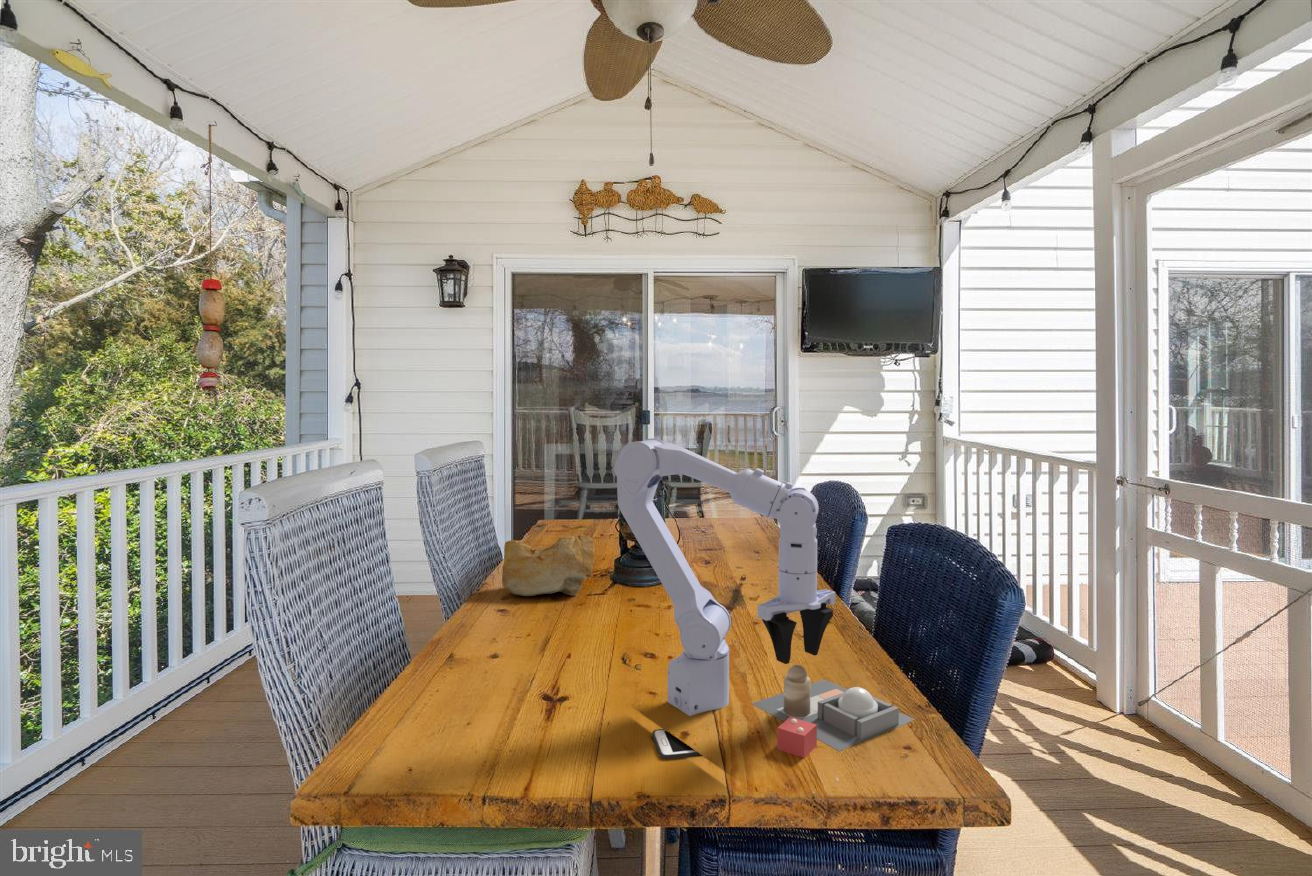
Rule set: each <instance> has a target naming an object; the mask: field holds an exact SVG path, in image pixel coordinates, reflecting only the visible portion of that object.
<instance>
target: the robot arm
mask: <svg viewBox="0 0 1312 876" xmlns="http://www.w3.org/2000/svg"><path fill="white" fill-rule="evenodd" d="M613 470H614V473H615V475H616V484H617V485H616V491H617V506H618V508H619V511H620V513H621V514H622V516H623V517H624V520H625V521H626V523H627V525H628V527H629V528H630V530H631V532H632V534H633V535H634V538H635V539H636V541H637V543H638V544H639V545H640V548H641V549H642V551H643V553H644V554H645V556H646V559H647V560H648V562H649V563H650V566H651V567H652V569H653V571H654V573H656V576H657V578H658V580H659V581H660V582H661V584H662V587H663V588H664V589H665V592H666V593H667V595H668V597H669V599H670V600H671V603H672V604H673V617H674V621H675V623H676V625H677V627H678V631H679V639H680V643H681V646H682V647H683V651H682V652H681V654H679V656H677V657H675V658H673V659H671V660H670V662H669V663H668V666H667V703H668V704H669V705H672V706H673V707H675V708H676V709H678V710H679V711H681V712H683V714H686V715H687V716H690V717H691V716H695V715H697V714H701V713H704V712H705V713H706V712H708V711H715V710H719V709H720V710H721V709H723V708H725V707H727V706H728V704H729V703H730V647H729V646H728V644H727V641H726V638H725V637H726V635H728V633H729V631H730V630H731V626H732V619H731V614H730V613H729V611H728V610H727V609H726V607H725V606H724V605H722V604H720V602H718V601H717V600H716V599H715V597H714V595H712V593H711V592H710V591H709V590H708V589H706V588H705V587H703V586H702V585H701V583H700V581H699V580H698V578H697V576H696V574H695V573H694V571H693V569H692V568H691V566H690V565H689V562H688V560H687V558H686V557H685V555H684V554H683V552H682V550H681V549H680V547H679V545H678V543H677V542H676V539H675V538H674V536H673V534H672V533H671V531H670V529H669V528H668V526H667V524H666V523H665V521H664V519H663V517H662V515H661V514H660V512H659V511H658V509H657V507H656V506H655V503H654V497H655V495H656V491H657V488H658V485H659V483H660V482H661V479H663V477H667V476H672V475H684V476H687V477H690V478H692V479H694V480H698V481H700V482H703V483H705V484H708V485H711V486H713V487H715V488H719V489H720V490H723V491H727V492H728V493H729V495H730V497H731V500H732V502H733V504H735V505H737V506H741V507H742V508H745V509H747V510H750V511H752V512H754V513H756V514H759V515H761V516H764V517H765V518H768V519H770V520H773V519H776V520H777V522H778V523H777V524H779V534H780V535H779V538H778V595H777V596H775V597H773V598H771V599H769V600H767V601H765V602H763V603H760V604H757V618H758V619H761V622H762V623H763V624H764V626H765V628H766V631H767V632H768V634H769V637H770V639H771V642H772V646H773V649H774V653H775V658H776V661H778V662H779V663H782V664H784V665H788V664H790V661H791V655H792V641H793V635H794V633H795V632H794V631H795V630H796V629H795V628H796V626H797V624H798V623H797V621H795V620H792V619H789V618H790V617H789V616H787V615H788V614H792V613H797V612H799V614H800V618H801V624H802V633H803V635H802V636H803V648H804V652H805V653H807V654H809V655H812V656H817V655H818V654H819V650H820V647H821V646H820V645H821V643H822V639H823V636H824V633H825V631H826V629H827V626H828V624H829V622H830V621H831V620H832V619H833V616H834V609H832V608H830V607H827V605H829V606H833V605H836V591H833V590H829V589H827V588H826V589H820V590H818V539H817V534H818V529H817V523H816V521H817V517H818V514H819V510H820V509H819V507H820V506H819V503H818V500H817V498H816V496H815V495H814V494H813V493H812V492H811V491H809V490H807V489H806V488H805V487H793V486H794V484H793V483H791V482H788V481H787V482H786V483H783V482H781V481H778V480H776V479H774V478H771V477H769V476H767V475H765V474H764V473H765V471H764V470H763V469H761V468H757V467H756V468H754V470H752V469H750V468H746V469H744V470H741V471H739V472H737V471H734V470H732V469H729V468H728V467H725V466H723V465H721V464H719V463H717V462H715V461H712V460H711V459H709V458H707V457H705V456H702V455H701V454H698V453H695V452H693V451H691V450H689V449H687V448H685V447H682V446H679V445H678V444H675V443H671V442H665V441H663V440H662V439H659V438H654V437H653V438H651V437H650V438H647V439H645V440H641V441H631V442H629V443H626V445H624V446H623V447H622V448H621V450H620V452H619V453H618V456H617V458H616V461H615V465H614V467H613Z"/></svg>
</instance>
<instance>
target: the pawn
mask: <svg viewBox="0 0 1312 876" xmlns="http://www.w3.org/2000/svg"><path fill="white" fill-rule="evenodd" d="M786 672H787V673H786V674H787V675H785V676H784V677H783V693H784V712H785V713H786V714H788V715H790V716H794V717H804V716H807V715H809V714H810V685H811V684H812V683H811V682H812V681H811V678H810V677H809V676H808V673H807V670H806V669H805V668H804V667H803V666H802V665H799V664H795V665H792V666H790V667H789V668H788V670H787V671H786Z"/></svg>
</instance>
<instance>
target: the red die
mask: <svg viewBox="0 0 1312 876" xmlns="http://www.w3.org/2000/svg"><path fill="white" fill-rule="evenodd" d="M776 730H777V731H776V732H777V733H776V735H777V736H776V738H777V739H776V750H779V751H782V752H785V753H786V754H787V753H788V754H791V755H794V756H797V757H800V758H803V759H805V758H806V757H807V756H808V755H809V754H810V753H811V752H812V751H813V750H814V749H816V748H817V742H818V741H817V724H813V723H810V722H806V721H803V720H799V719H796V718H792V717H789V718H788V719H787V720H786V721H785V722H784V721H782V723H781V724H780V725H778V727H777V728H776Z"/></svg>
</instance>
